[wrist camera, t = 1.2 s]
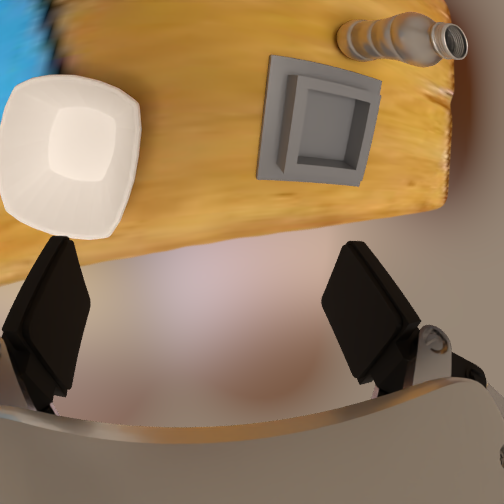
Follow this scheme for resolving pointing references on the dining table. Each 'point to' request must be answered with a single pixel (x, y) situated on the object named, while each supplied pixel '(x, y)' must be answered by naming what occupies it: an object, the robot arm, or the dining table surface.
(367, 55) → the plastic bottle
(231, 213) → the dining table surface
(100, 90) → the bowl
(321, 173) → the gray square tray
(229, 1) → the dining table surface
